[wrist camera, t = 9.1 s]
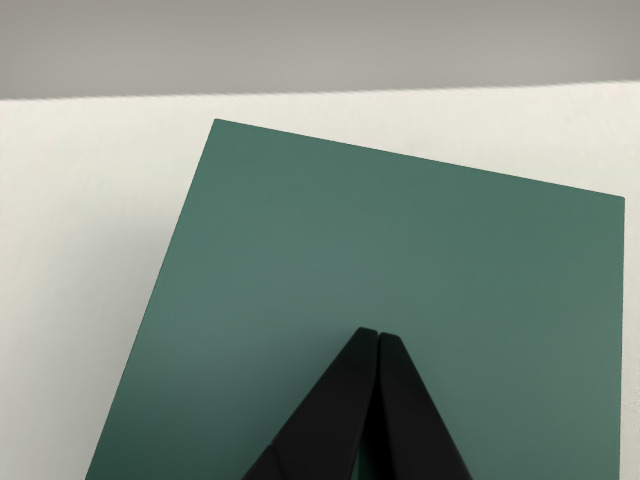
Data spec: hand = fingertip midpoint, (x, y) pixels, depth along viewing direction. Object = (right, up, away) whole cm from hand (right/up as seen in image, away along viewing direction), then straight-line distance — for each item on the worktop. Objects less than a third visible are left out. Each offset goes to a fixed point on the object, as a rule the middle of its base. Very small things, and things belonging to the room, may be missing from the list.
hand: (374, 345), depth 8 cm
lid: (0, -2, 0) cm, 2 cm away
